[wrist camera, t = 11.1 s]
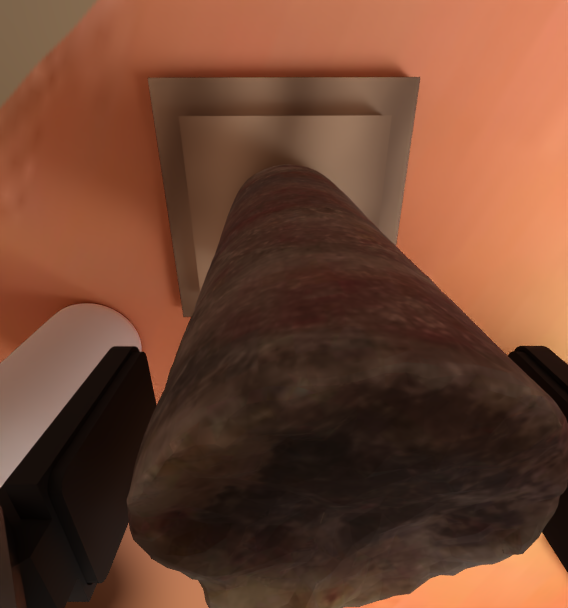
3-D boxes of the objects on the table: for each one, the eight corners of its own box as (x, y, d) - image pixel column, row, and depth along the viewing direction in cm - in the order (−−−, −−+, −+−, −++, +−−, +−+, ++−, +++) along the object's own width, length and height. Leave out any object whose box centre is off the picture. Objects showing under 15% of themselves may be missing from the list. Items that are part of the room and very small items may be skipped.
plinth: (411, 79, 23) (433, 73, 20) (381, 305, 30) (393, 327, 27) (155, 79, 22) (135, 74, 19) (187, 308, 30) (177, 330, 27)
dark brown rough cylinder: (346, 151, 21) (699, 328, 4) (353, 266, 25) (553, 651, 7) (218, 171, 22) (-32, 422, 4) (242, 282, 25) (166, 687, 7)
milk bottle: (65, 283, 29) (-277, 557, 11) (157, 325, 31) (-4, 616, 13) (40, 353, 32) (-260, 658, 14) (126, 388, 34) (-41, 694, 16)
